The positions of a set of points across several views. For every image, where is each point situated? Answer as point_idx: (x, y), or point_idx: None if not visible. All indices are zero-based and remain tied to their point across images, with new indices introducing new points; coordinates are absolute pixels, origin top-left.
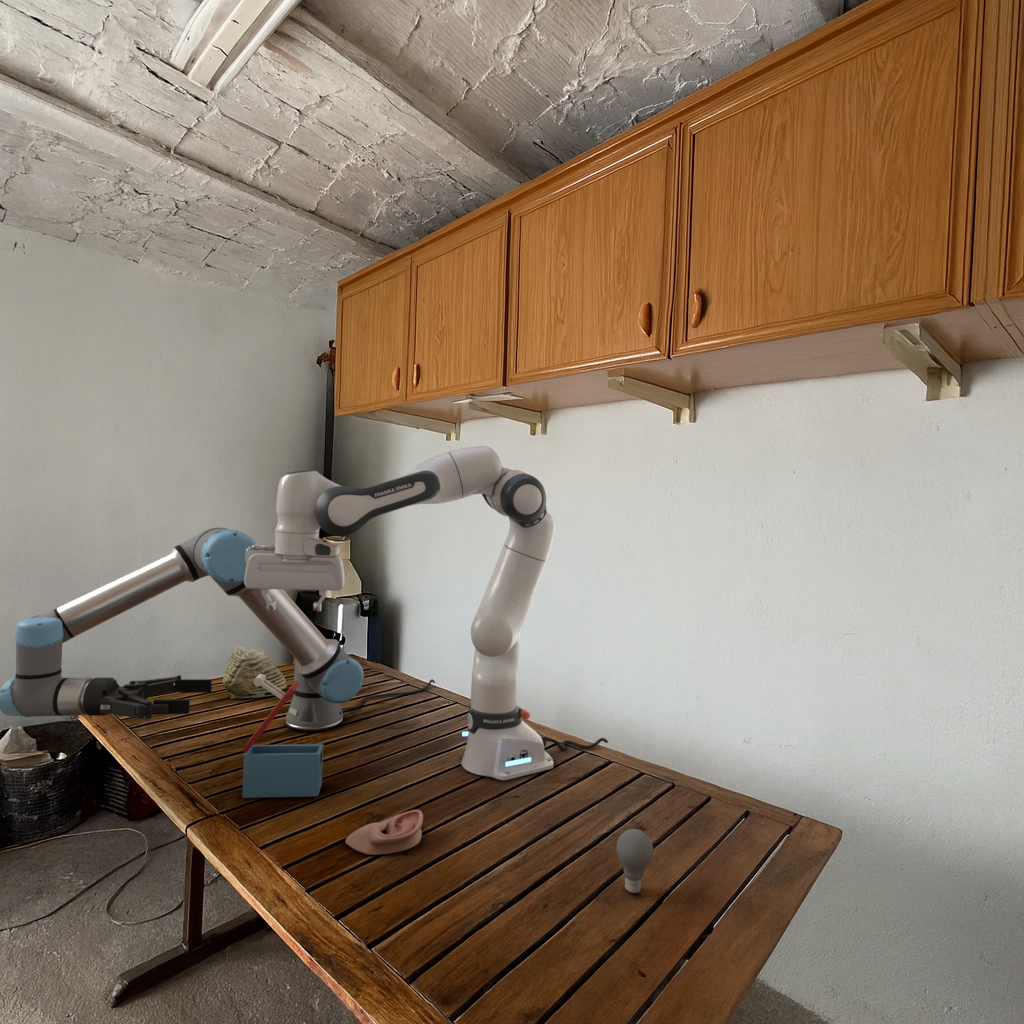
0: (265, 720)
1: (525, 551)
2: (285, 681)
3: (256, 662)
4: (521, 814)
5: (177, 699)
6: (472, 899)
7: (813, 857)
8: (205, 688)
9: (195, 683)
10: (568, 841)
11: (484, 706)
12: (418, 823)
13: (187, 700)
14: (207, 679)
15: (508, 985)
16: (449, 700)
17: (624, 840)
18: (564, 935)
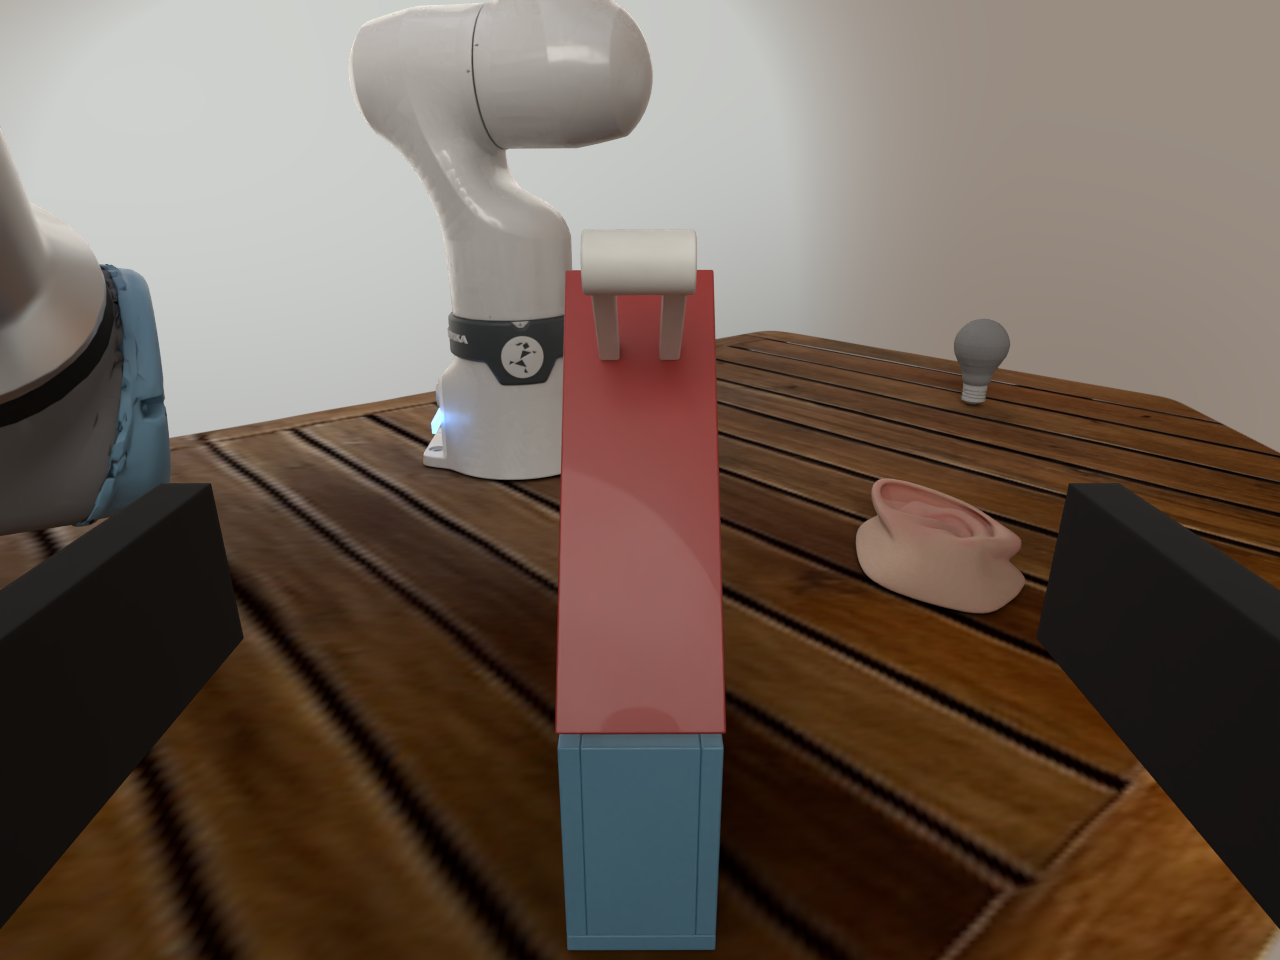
0: (717, 493)
1: None
2: None
3: None
4: (765, 444)
5: (1171, 551)
6: None
7: (836, 341)
8: (198, 624)
9: (93, 635)
10: (852, 423)
11: (562, 298)
12: (928, 488)
13: (1125, 489)
14: (134, 506)
15: (1269, 474)
16: None
17: (998, 331)
18: (1115, 441)
